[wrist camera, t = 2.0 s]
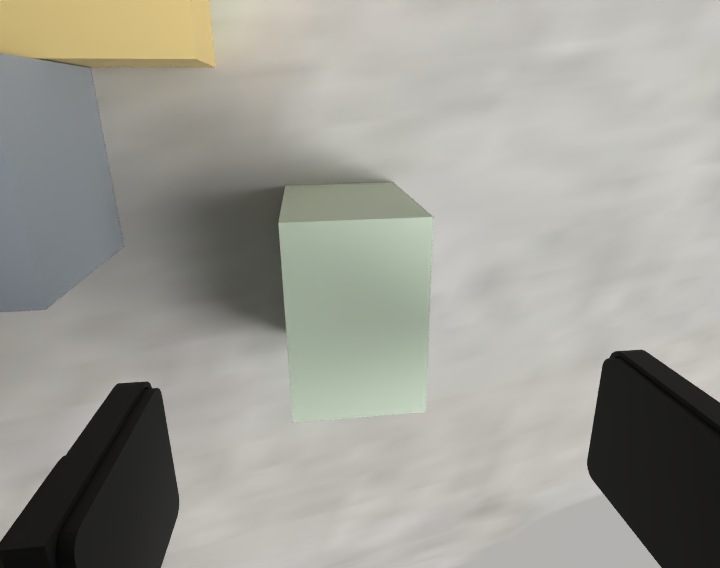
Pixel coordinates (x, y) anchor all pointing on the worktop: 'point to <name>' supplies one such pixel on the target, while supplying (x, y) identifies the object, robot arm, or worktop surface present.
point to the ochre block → (109, 32)
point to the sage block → (355, 299)
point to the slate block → (51, 183)
